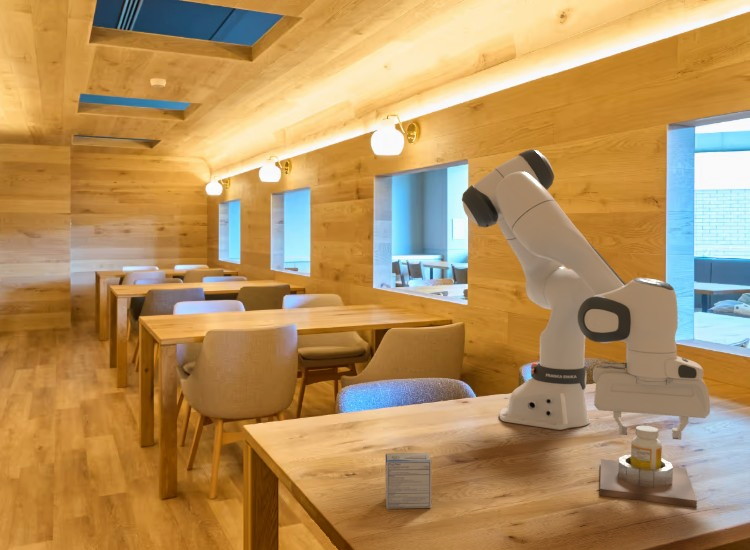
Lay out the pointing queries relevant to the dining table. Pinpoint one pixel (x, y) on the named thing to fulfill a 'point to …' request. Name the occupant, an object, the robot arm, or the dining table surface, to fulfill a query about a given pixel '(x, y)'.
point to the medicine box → (408, 480)
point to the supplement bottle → (646, 448)
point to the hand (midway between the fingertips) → (649, 436)
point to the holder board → (646, 482)
